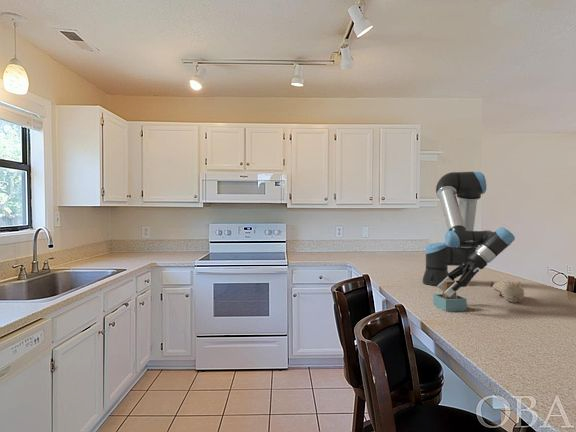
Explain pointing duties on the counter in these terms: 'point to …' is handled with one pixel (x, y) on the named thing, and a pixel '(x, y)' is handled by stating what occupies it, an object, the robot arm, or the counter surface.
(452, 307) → the teal storage bin
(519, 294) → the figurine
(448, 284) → the wooden post on plate
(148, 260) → the counter surface
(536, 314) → the counter surface
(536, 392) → the counter surface
